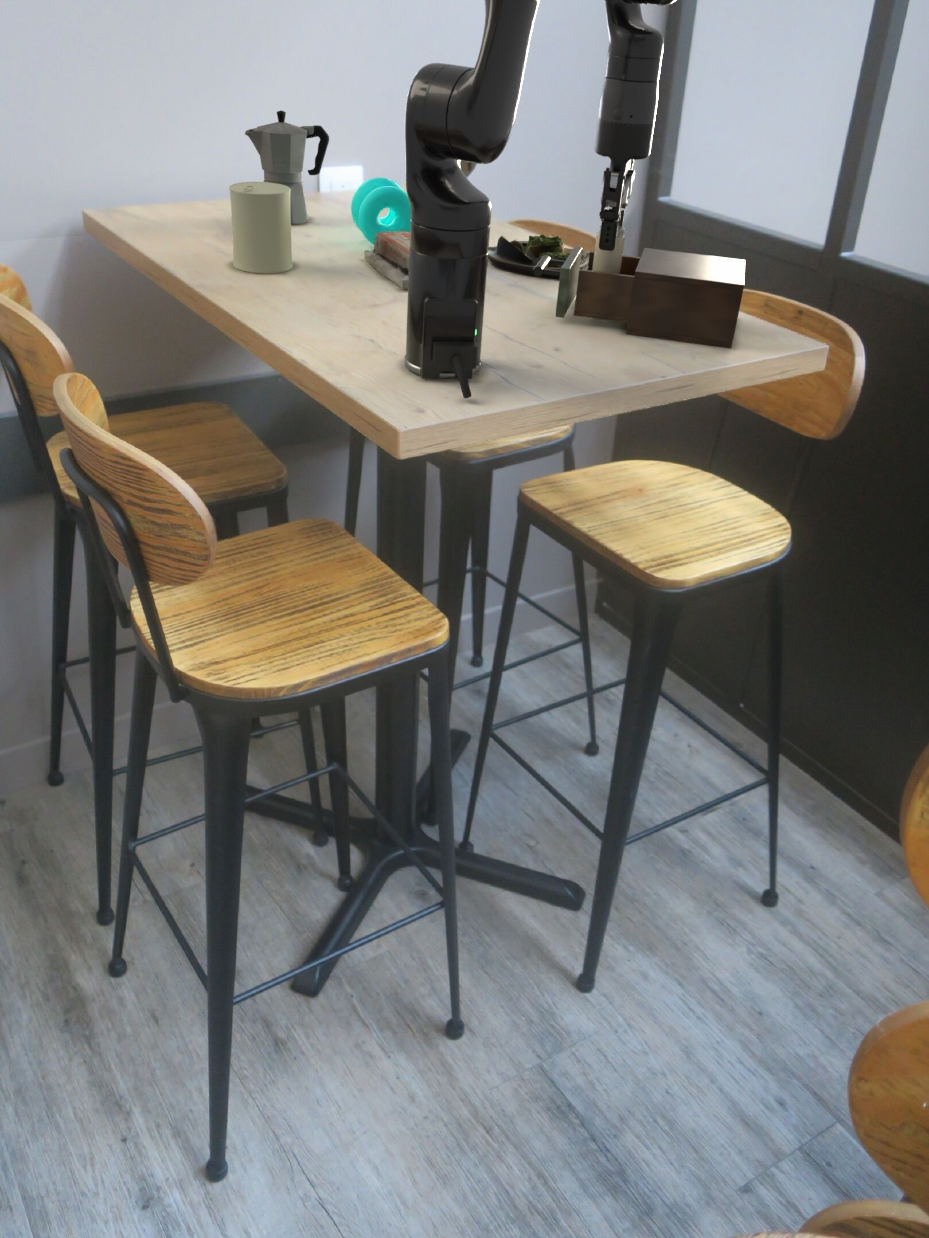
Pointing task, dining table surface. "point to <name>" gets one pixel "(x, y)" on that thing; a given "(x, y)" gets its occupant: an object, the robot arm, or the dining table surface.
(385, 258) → the packaged product
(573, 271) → the drawer
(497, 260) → the salad plate
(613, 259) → the pepper mill
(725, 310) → the cabinet
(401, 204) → the donuts
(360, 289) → the dining table surface
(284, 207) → the can
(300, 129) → the coffeepot
